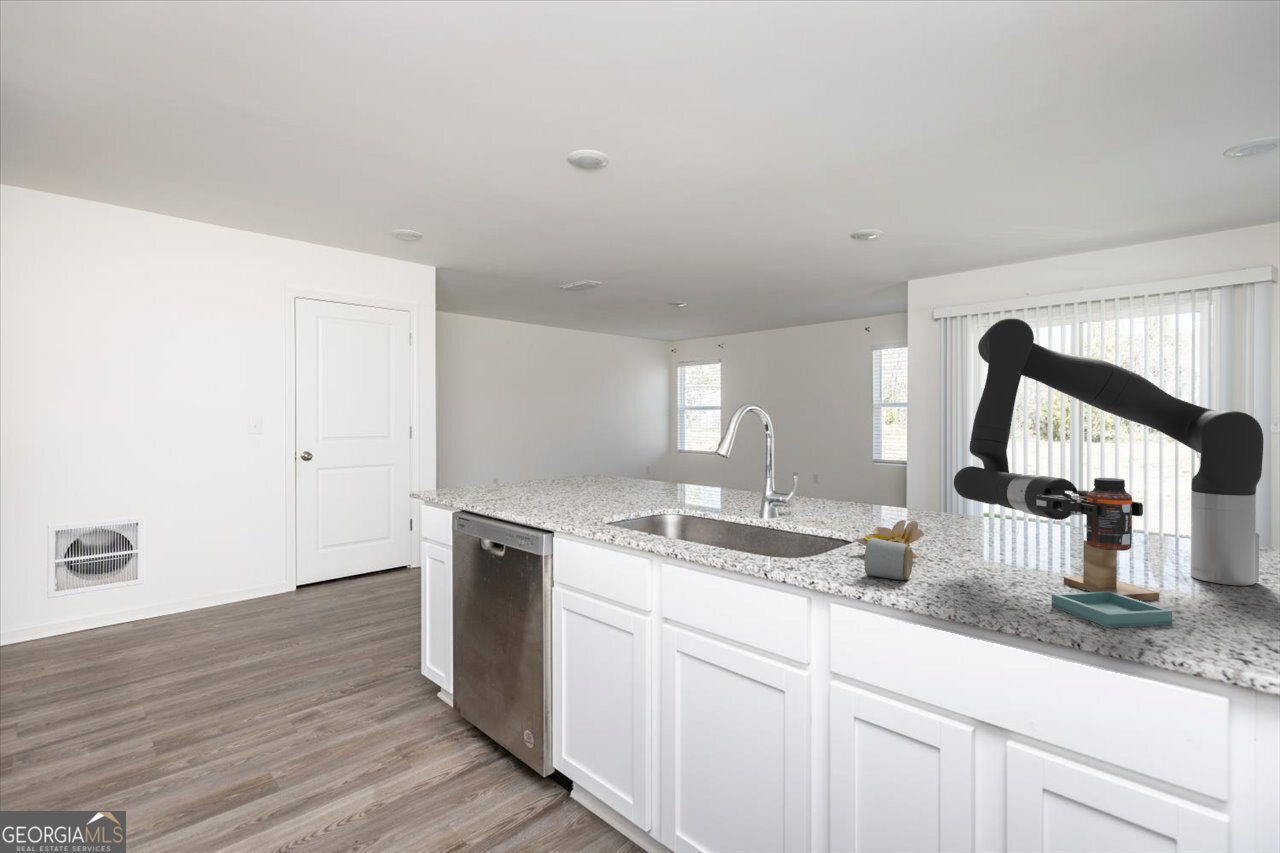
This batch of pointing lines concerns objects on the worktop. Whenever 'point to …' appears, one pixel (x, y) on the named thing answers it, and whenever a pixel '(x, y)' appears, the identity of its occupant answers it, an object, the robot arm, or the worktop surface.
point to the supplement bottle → (1110, 516)
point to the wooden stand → (1105, 575)
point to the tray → (1111, 609)
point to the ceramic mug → (888, 559)
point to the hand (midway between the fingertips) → (1122, 510)
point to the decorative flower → (896, 534)
